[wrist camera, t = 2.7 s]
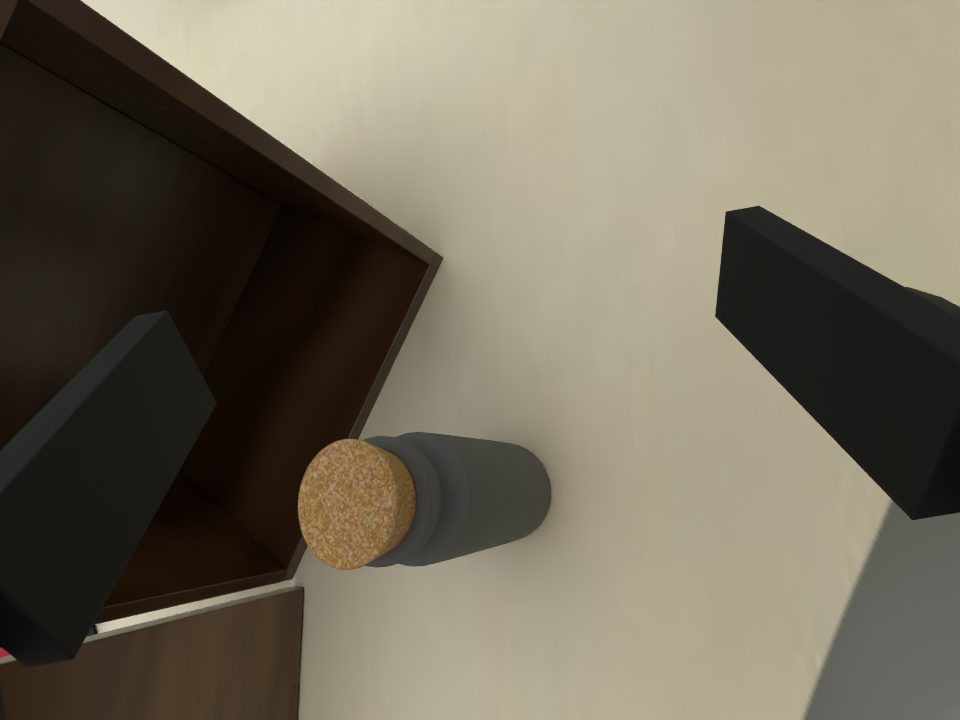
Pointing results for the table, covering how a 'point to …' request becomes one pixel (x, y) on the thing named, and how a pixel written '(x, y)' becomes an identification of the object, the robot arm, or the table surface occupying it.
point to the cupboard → (188, 286)
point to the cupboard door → (173, 668)
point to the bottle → (418, 499)
